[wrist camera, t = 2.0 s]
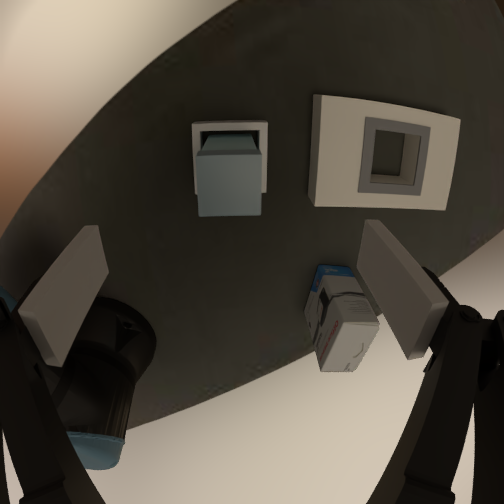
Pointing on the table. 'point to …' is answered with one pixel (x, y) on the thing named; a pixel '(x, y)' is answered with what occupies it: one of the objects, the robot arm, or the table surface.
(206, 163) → the plug
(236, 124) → the grey square frame
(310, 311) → the ink box
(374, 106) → the port
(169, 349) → the table surface
